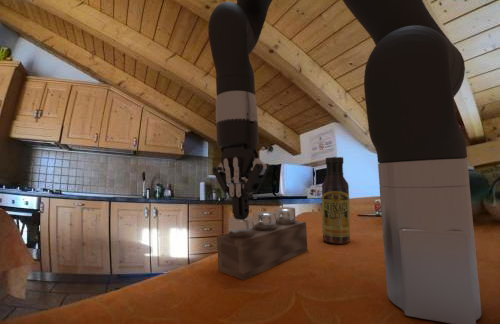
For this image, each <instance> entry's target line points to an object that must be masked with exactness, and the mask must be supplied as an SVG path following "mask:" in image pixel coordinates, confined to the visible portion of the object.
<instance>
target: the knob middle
mask: <svg viewBox="0 0 500 324" xmlns="http://www.w3.org/2000/svg"><path fill="white" fill-rule="evenodd" d="M253 220H254V229H255V230H258V231H271V230H275V229H277V219H276V212H275V211H272V210H271V211H269V210H268V211H267V210H266V211H265V210H264V211H262V210H261V211H255V212H253Z"/></svg>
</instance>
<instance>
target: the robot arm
mask: <svg viewBox="0 0 500 324" xmlns="http://www.w3.org/2000/svg"><path fill="white" fill-rule="evenodd" d="M273 1H274V0H236V3H235V2H234V1H224V2H221V3H219V4H218V5H216V6H215V8H214V9H213V10H212V13H211V14H210V16H209V21H208V29H207V30H208V31H207V32H208V40H209V48H210V50H211V56H212V61H213V65H214V68H215V87H216V93H215V94H216V102H215V126H216V128H215V129H216V130H215V131H216V146H217V148H219V149H220V150H221V154H220V158H219V159H220V162H219V164H218V166H214V167H212V173H213V174H214V177H215V178H216V180H217V182H218V184H219V187H220V188H221V189H222V192H223V193H224V194H228V195H229V196H230V197H231V203H232V206H231V207H232V209H231V210H232V211H231V212H232V215H233V217H234V218H238V219H242V218H247V217H248V216H249V213H250V204H249V203H250V201H249V197H250V196H251V195H252V194H255V193H256V194H257V192H258V190H259V189H260V187H261V186H262V183H263V182H264V180H265V178H266V176H267V174H268V172H269V170H270V167H271V166H270V164H269V163H264V162H263V161H262V160H261V159H260V158H259V152H258V150H257V147H258V146H259V144H260V141H259V140H260V139H259V120H258V106H257V101H256V99H257V98H256V85H255V83H256V81H255V75H254V74H255V72H254V69H253V67H252V64H251V62H250V56H249V55H250V54H251V53H252V52H253V50H254V49H255V47H256V45H257V43H258V41H259V39H260V37H261V34H262V31H263V28H264V24H265V22H266V19H267V15H268V11H269V8H270V6H271V4H272V2H273ZM342 2H343V3H344V5H345V6H346V7H347V9H348V10H349V11H350V13H351V14H352V16H353V17H354V18H355V20H356V21H358V22H359V24H360V26H362V27H363V29H365V31H366V32H367V33H368V35H369V36H370V38H371V39H372V41H373V42H374V45H375V46H374V47H373V49H372V50H371V52H370V54H369V56H368V57H367V61H366V64H365V69H364V77H363V80H364V81H363V91H364V100H365V108H366V116H367V117H366V119H367V126H368V133H369V137H370V141H371V143H372V145H373V147H374V149H375V151H376V158H377V169H378V184H379V185H378V186H379V197H380V198H379V199H380V211H381V213H380V215H381V225H382V227H381V228H382V239H383V242H382V243H383V254H384V255H383V256H384V264H385V265H384V266H385V278H386V279H385V280H386V291H387V292H386V293H387V297H388V299H389V301H390V302H391V303H393V304H394V305H395V306H397V307H398V308H400V310H402V311H403V312H404V315H405V316H408V317H412V318H417V319H418V318H419V319H423V320H429V321H435V322H440V323H447V324H477V320H479V319H481V316H482V307H481V306H482V303H481V294H480V293H481V292H480V284H479V283H480V282H479V275H478V274H479V273H478V266H477V265H478V263H477V255H476V253H477V251H476V243H475V240H476V239H475V232H474V220H473V218H474V217H473V210H472V198H471V188H470V187H471V186H470V174H469V173H470V172H469V163H468V151H467V141H466V137H465V135H464V133H463V131H462V129H461V127H460V124H459V121H458V119H457V116H456V110H455V109H456V108H455V104H454V103H455V102H454V97H456V96H457V94H458V92H459V91H460V89H461V87H462V85H463V82H464V79H465V71H466V67H465V60H464V57H463V54H462V53H461V52H460V50H459V49H458V47H457V46H455V45H454V44H453V42H452V41H451V40H450V39H449V37H448V36H447V35H446V34H445V32H444V31H443V30H442V29H441V28H440V26H439V24H438V23H437V22H436V20H435V19H434V17H433V16H432V14H431V13H430V12H429V10H428V8H427V6H426V5H425V2H424V0H342Z"/></svg>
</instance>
